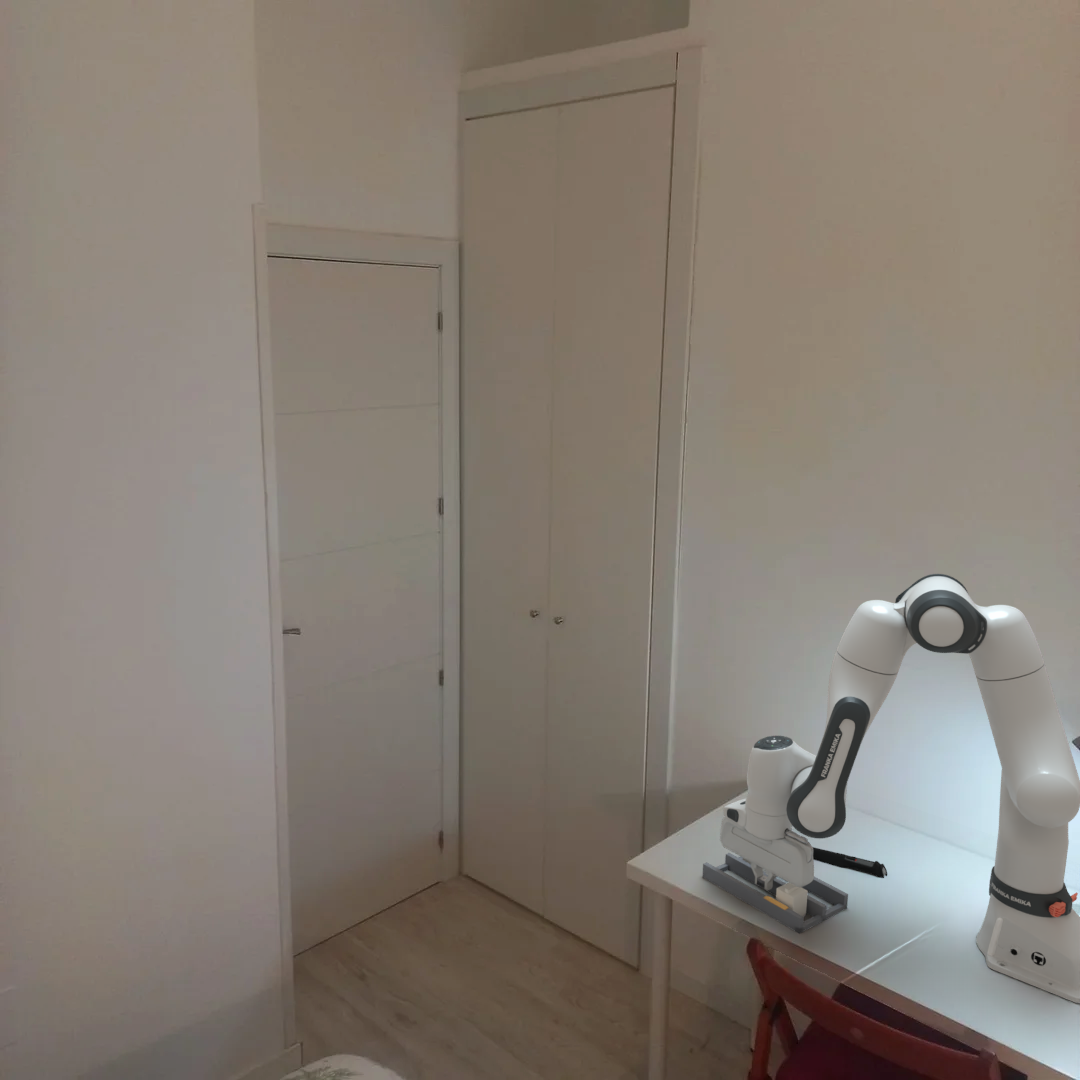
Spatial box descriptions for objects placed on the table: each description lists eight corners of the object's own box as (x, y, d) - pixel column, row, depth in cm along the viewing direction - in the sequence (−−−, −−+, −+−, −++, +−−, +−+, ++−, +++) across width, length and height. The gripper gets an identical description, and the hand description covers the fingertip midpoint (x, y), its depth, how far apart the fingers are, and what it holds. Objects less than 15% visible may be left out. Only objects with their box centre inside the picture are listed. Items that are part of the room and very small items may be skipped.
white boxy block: (805, 915, 192) (807, 887, 191) (792, 922, 189) (793, 894, 188) (788, 905, 195) (790, 878, 194) (774, 912, 192) (776, 885, 191)
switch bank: (846, 911, 194) (848, 893, 194) (798, 936, 186) (800, 917, 185) (749, 859, 213) (750, 842, 212) (702, 880, 205) (703, 862, 204)
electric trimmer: (811, 856, 216) (812, 842, 215) (887, 874, 208) (888, 860, 208) (806, 863, 212) (807, 849, 212) (884, 883, 205) (885, 868, 204)
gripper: (824, 836, 187) (818, 905, 190) (738, 795, 203) (734, 859, 206) (802, 847, 183) (796, 916, 186) (716, 804, 199) (712, 869, 202)
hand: (763, 886), depth 196 cm, fingers closed
